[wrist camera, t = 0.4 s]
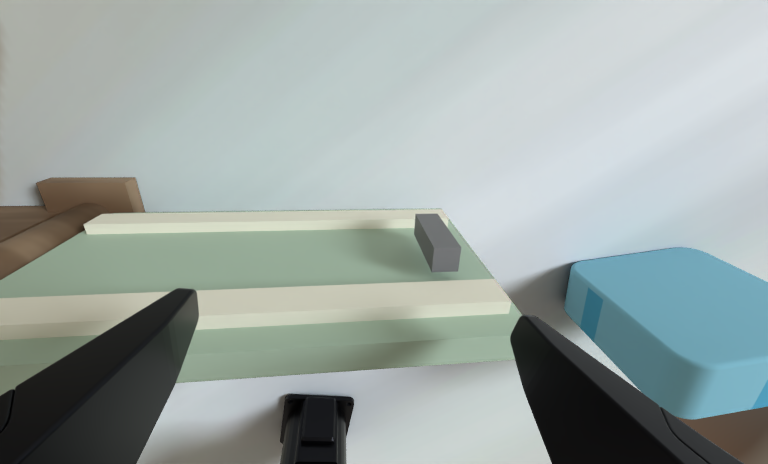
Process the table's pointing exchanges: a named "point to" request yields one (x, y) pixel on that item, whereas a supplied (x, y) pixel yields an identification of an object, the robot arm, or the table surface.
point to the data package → (678, 327)
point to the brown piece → (60, 216)
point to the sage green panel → (265, 292)
